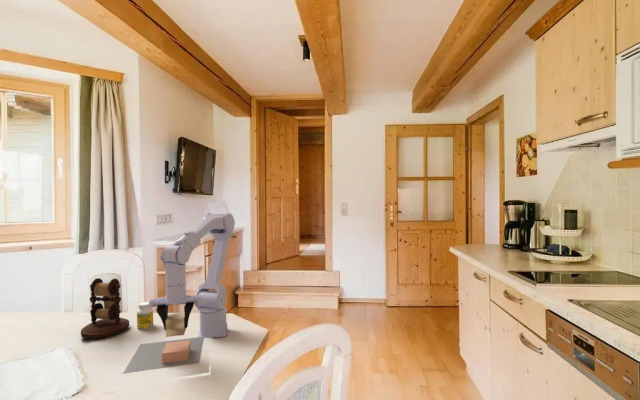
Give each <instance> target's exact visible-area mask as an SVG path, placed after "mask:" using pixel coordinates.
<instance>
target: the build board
mask: <svg viewBox="0 0 640 400" xmlns="http://www.w3.org/2000/svg"><path fill="white" fill-rule="evenodd" d="M204 340H205V338H203V337H198V336H196V337H189V338H182V339H174V340H173V339H172V340H164V341H155V342H148V343H147V342H146V343H140V344H139V346H138V348H137V349H136V350H135V353H134V354H133V356H132V357H131V359H130V361H129V363H128V364H127V366H126V368H125V369H124V371H123V372H122V374H128V373H135V372H136V373H137V372H143V371H150V370H158V369H164V368H165V369H166V368H170V367H172V368H173V367H178V366H185V365H192V364H193V365H194V364H199V363H200V359H201V354H202V351H203V350H202V349H203V344H204Z"/></svg>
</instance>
